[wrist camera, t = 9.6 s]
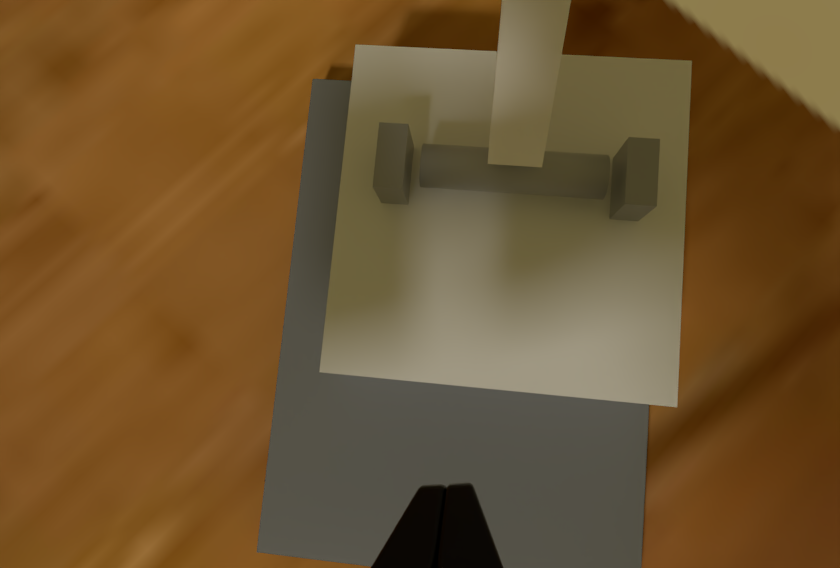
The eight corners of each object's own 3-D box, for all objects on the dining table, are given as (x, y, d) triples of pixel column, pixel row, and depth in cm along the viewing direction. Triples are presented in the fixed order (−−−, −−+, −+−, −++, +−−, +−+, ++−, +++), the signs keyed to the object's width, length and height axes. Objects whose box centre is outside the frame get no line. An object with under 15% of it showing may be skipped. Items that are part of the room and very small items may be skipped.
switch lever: (603, 218, 16) (758, -320, 8) (417, 205, 16) (409, -317, 9) (596, 173, 17) (726, -326, 10) (426, 161, 18) (425, -324, 10)
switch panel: (630, 587, 19) (691, 674, 14) (267, 542, 20) (198, 606, 15) (654, 109, 21) (716, 29, 16) (319, 91, 22) (274, 9, 17)
